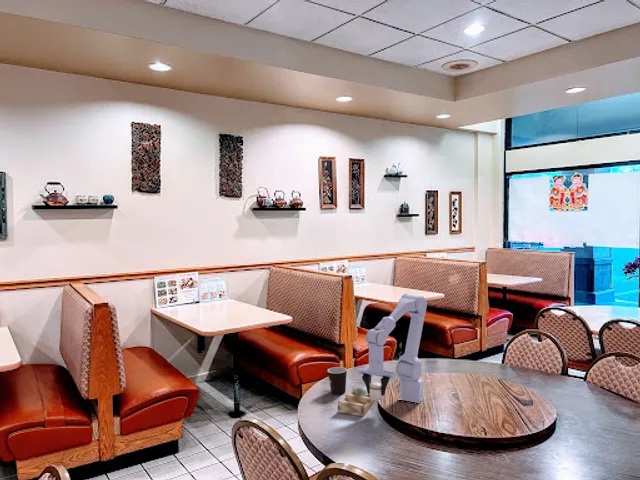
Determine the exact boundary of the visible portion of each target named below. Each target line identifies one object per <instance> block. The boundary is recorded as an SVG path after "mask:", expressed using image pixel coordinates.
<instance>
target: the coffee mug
mask: <svg viewBox="0 0 640 480" xmlns="http://www.w3.org/2000/svg"><path fill="white" fill-rule="evenodd" d="M347 371H348V369H347V368H346V367H344V366H343V367H342V366H335V367H330V368H327V375H328V381H329V388H330V393H331V394H332V395H334V396H335V395H336V396H339V395H343V394H346V389H347V373H348V372H347Z"/></svg>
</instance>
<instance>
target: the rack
mask: <svg viewBox="0 0 640 480" xmlns="http://www.w3.org/2000/svg"><path fill="white" fill-rule="evenodd" d="M344 394H345V398H344V399H342V400H340V399H338V400H337V413H342V414H345V415H346V414H347V415H353V416H356V417H358V416H359V417H365V416H366V414H367V413H368V412H369V411H370V410H371V409H372V407H374V405H375V404H376V403H377V402H378V401H376V400H371V399H370V393H367V388H366V385H364V386H363V385H361V386H360V385H359V386H356V387H353V388H352V392H351V393H344Z"/></svg>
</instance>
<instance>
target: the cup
mask: <svg viewBox="0 0 640 480" xmlns="http://www.w3.org/2000/svg"><path fill="white" fill-rule="evenodd" d="M369 388H370V399H371V400H376V401H377V402H378V401H381V400H383V398H384V396H382V394H381V391H382V386H381V382H378V381H376V382H374V381H373V382H371V383H370V385H369Z"/></svg>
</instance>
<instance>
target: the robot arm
mask: <svg viewBox="0 0 640 480" xmlns="http://www.w3.org/2000/svg"><path fill="white" fill-rule="evenodd" d="M427 307H428V301H427V299H426V298H425V297H424V296H423V295H415V294H408V293H403V294H402V295H401V297H399V300H398V304H397V306H396V307H395V308H394V309H393V310H392V312H391V313H390V314H389V315H388V316H383V317H382V319H381V320H380V321H379V322H378V323H377V325H376V326H375V327H374V328H371V329H369V330H368V331H367V332H366V335H365V341H366V342H367V347H368V368H367V367H365V368H364V367H363V368H362V367H359V368H358V371H357V375H362V376H361V378H362V380H363V382H364V386H365V387H366V388H367V393H370V388H369V385H370V383H372V376H374V377H375V376H376V377H381V378H380V383H381V386H382V391H381V394H382V396H383V397H384V396H385V395H386V390H387V386H388V384H389V382H390V379H392V380H394V379H395V377H396V376H395V372H396V374H397V375H398V378H399V396H400V398H401V399H403V400H406V401H412V402H413V401H415V403H414V404H416V403H419V404H420V403H421V402H422V400H423V399H424V381H423V380H422V379H420V378H421V376H422V370H423V369H422V361H421V360H420V358H418V354H419V348H420V344H421V343H420V342H421V338H422V332H423V328H424V327H423V326H424V322H425V316H426V313H427ZM406 313H407V314H408V315H409V316H410V317H411V318H410V323H409V328H408V332H407V339H406V344H405V349H404V353H403V354H402V355H401V356H399V358H398V361H397V363H396V366H395V372H393V371H389V370H385V369H384V345H385V344H386V343H387V339H388V337H389V334H390V333H392V331H393V330H394V329H395V328H396V325H397V324H396V323H397V321H399V319H401V317H403V316H404V315H405V314H406ZM420 401H421V402H420Z"/></svg>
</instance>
